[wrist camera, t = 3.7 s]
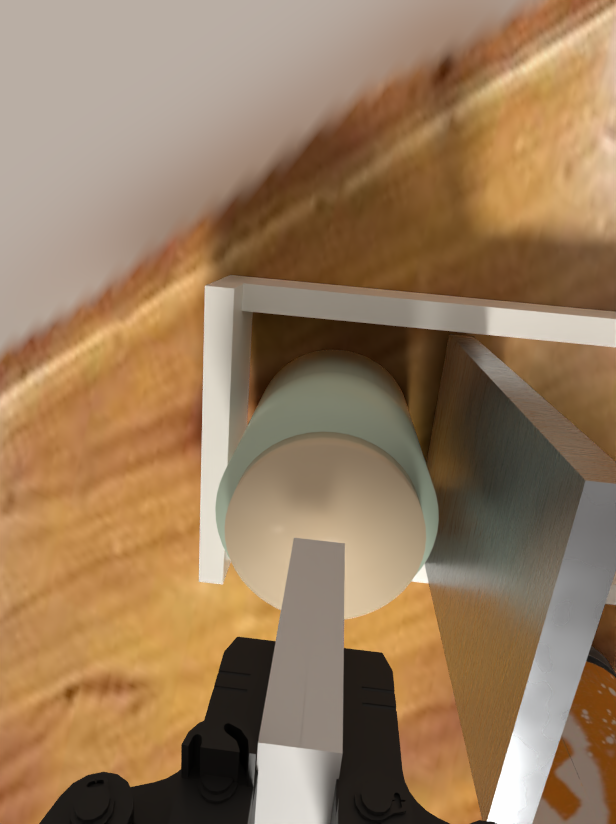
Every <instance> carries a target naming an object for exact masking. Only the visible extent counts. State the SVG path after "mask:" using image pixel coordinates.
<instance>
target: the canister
mask: <svg viewBox="0 0 616 824" xmlns="http://www.w3.org/2000/svg"><path fill="white" fill-rule="evenodd" d="M532 824H616V673H615V671H614V670H613V668H612V667H611V665H610V664H609V662H608V661H607V659H606V658H605V657H604V656H603V655H602V654H601V653H600V652H599V651H597V650H596V649H594V648H593V647H592V646H591V648H590V651H589V654H588V657H587V660H586V663H585V666H584V669H583V672H582V675H581V678H580V681H579V684H578V687H577V690H576V693H575V696H574V699H573V702H572V705H571V708H570V711H569V714H568V717H567V720H566V723H565V726H564V729H563V732H562V735H561V738H560V741H559V744H558V747H557V750H556V753H555V756H554V759H553V762H552V765H551V768H550V771H549V774H548V777H547V780H546V783H545V787H544V790H543V793H542V796H541V799H540V802H539V805H538V808H537V811H536V814H535V817H534V820H533V823H532Z"/></svg>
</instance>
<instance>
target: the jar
mask: <svg viewBox="0 0 616 824" xmlns="http://www.w3.org/2000/svg"><path fill="white" fill-rule="evenodd" d="M215 511H216V524H217V529H218V534H219V536H220V539H221V542H222V545H223V547H224V549H225V551H226V553H227V555H228V557H229V558H230V560H231V562H232V564H233V566H234V568H235V570H236V572H237V573H238V575H239V576H240V578H241V579H242V580H243V582H244V583H245V584H246V585H247V586H248V587H249V588H250V589H251V590H252V591H253V592H254V593H255V594H256V595H257V596H258V597H260V598H261V599H263V600H264V601H265V602H267V603H268V604H270V605H272V606H274V607H276V608H277V609H279V610H281V608H282V603H283V597H284V591H285V585H286V580H287V574H288V568H289V562H290V557H291V551H292V545H293V540H294V538H302V539H311V540H320V541H329V542H338V543H345V581H344V619H350V618H355V617H359V616H362V615H365V614H368V613H370V612H373V611H375V610H377V609H379V608H381V607H383V606H385V605H386V604H388V603H389V602H391V601H392V600H393V599H395V598H396V597H397V596H398V595H399V594H400V593H401V592H403V591H404V590H405V588H406V587H407V586H408V585H409V584H410V582H411V581H412V579H413V578H414V577H415V575H416V574H417V573H418V572H419V571H420V569H421V568H422V567H423V565H424V564H425V562H426V560H427V559H428V557H429V555H430V553H431V550H432V548H433V546H434V543H435V539H436V535H437V530H438V522H439V514H438V503H437V497H436V493H435V490H434V486H433V483H432V480H431V477H430V474H429V471H428V468H427V465H426V462H425V459H424V456H423V453H422V450H421V447H420V444H419V441H418V438H417V435H416V432H415V429H414V425H413V422H412V419H411V416H410V413H409V410H408V407H407V404H406V401H405V398H404V395H403V393H402V391H401V389H400V387H399V385H398V384H397V382H396V381H395V380H394V378H393V377H392V376H391V375H390V374H389V373H388V372H387V371H386V370H385V369H384V368H383V367H382V366H380V365H379V364H378V363H376V362H375V361H373V360H371V359H370V358H367V357H365V356H363V355H361V354H357V353H354V352H351V351H345V350H331V349H330V350H320V351H316V352H311V353H308V354H305V355H303V356H300V357H298V358H296V359H295V360H293V361H291V362H290V363H288V364H287V365H285V366H284V367H283V368H282V369H281V370H280V371H279V372H278V373H277V374H276V375H275V376H274V377H273V379H272V380H271V381H270V383H269V385H268V386H267V388H266V390H265V392H264V394H263V396H262V398H261V400H260V402H259V404H258V406H257V408H256V410H255V412H254V414H253V416H252V418H251V420H250V422H249V424H248V426H247V428H246V430H245V432H244V434H243V436H242V438H241V440H240V442H239V444H238V446H237V448H236V450H235V452H234V454H233V456H232V458H231V460H230V461H229V463H228V465H227V467H226V469H225V472H224V474H223V476H222V479H221V481H220V484H219V488H218V492H217V497H216V506H215Z"/></svg>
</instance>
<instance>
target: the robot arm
mask: <svg viewBox="0 0 616 824" xmlns="http://www.w3.org/2000/svg"><path fill="white" fill-rule="evenodd" d="M344 581H345V543H338V542H329V541H320V540H311V539H302V538H294V540H293V545H292V551H291V557H290V562H289V568H288V574H287V580H286V585H285V591H284V597H283V603H282V608H281V614H280V620H279V625H278V631H277V637H276V641H268V640H260V639H252V638H244V637H237V638H236V639H235V640H234V641H233V642H232V644H231V645H230V646H229V647H228V648H227V649H226V650H225V652H224V655H223V658H222V661H221V665H220V668H219V673H218V675H217V679H216V682H215V686H214V689H213V692H212V696H211V699H210V703H209V706H208V710H207V713H206V716H205V720H204V721H203V722H200V723H199V724H197V725H196V726H195V727H194V728H193V729H192V730H190V731H189V732H188V734H187V736H186V738H185V739H184V741H183V743H182V762H181V770H180V771H178V772H177V773H175V774H174V775H172V776H170V777H168V778H167V779H164V780H160V781H157V782H154V783H149V784H144V785H139V786H134V787H130V786H129V784H128V782H127V781H126V780H124V779H123V778H122V777H120V776H119V775H118V774H113V773H107V772H101V773H96V774H91V775H87V776H86V777H84V778H82V779H80V780H78V781H76V782H75V783H73V784H72V785H71V786H70V787H69V788H68V789H67V790H66V791H65V792H64V793H63V794H62V795H61V796H60V797H59V798H58V800H57V801H56V802H55V804H54V805H53V806H52V808H51V809H50V810H49V812H48V813H47V814H46V816H45V817H44V818H43V819H42V821H41V822H40V823H39V824H449V823H447V822H445V821H443V820H441V819H439V818H437V817H436V816H434V815H432V814H431V813H429V812H427V811H426V810H425V809H424V808H423V807H422V806H421V805H420V804H419V803H417V801H416V800H415V799H414V797H413V796H412V795H411V793H410V792H409V790H408V787H407V785H406V783H405V780H404V776H403V771H402V762H401V752H400V742H399V731H398V721H397V711H396V701H395V694H394V681H393V671H392V669H391V667H390V666H389V664H388V662H387V660H386V659H385V657H384V655H383V653H379V652H371V651H363V650H354V649H346V648H344ZM471 824H497V823H495V822H492V821H481V820H478V821H476V822H473V823H471Z"/></svg>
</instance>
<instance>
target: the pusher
mask: <svg viewBox="0 0 616 824" xmlns="http://www.w3.org/2000/svg"><path fill="white" fill-rule="evenodd" d="M426 465H427V468H428V471H429V474H430V477H431V480H432V483H433V486H434V490H435V493H436V497H437V503H438V514H439V522H438V530H437V535H436V539H435V543H434V546H433V548H432V550H431V553H430V555H429V557H428V559H427V560H426V562H425V569H426V573H427V578H428V582H429V587H430V591H431V595H432V600H433V604H434V609H435V613H436V617H437V622H438V626H439V631H440V635H441V640H442V644H443V648H444V653H445V657H446V662H447V666H448V670H449V675H450V679H451V684H452V688H453V693H454V697H455V701H456V706H457V710H458V715H459V719H460V723H461V728H462V732H463V737H464V741H465V745H466V750H467V754H468V759H469V763H470V768H471V772H472V776H473V781H474V785H475V790H476V794H477V798H478V803H479V807H480V812H481V816H482V821H492V822H495V823H497V824H532V823H533V820H534V817H535V814H536V811H537V808H538V805H539V802H540V799H541V796H542V793H543V790H544V787H545V783H546V780H547V777H548V774H549V771H550V768H551V765H552V762H553V759H554V756H555V753H556V750H557V747H558V744H559V741H560V738H561V735H562V732H563V729H564V726H565V723H566V720H567V717H568V714H569V711H570V708H571V705H572V702H573V699H574V696H575V693H576V690H577V687H578V684H579V681H580V678H581V675H582V672H583V669H584V666H585V663H586V660H587V657H588V654H589V651H590V648H591V645H592V642H593V639H594V636H595V633H596V630H597V627H598V624H599V621H600V618H601V615H602V612H603V609H604V606H605V603H606V600H607V597H608V594H609V591H610V588H611V585H612V582H613V578H614V575H615V572H616V462H615V461H614V460H613V459H612V458H611V457H610V456H608V455H607V454H606V453H605V452H604V451H603V450H602V449H601V448H599V447H598V446H597V445H596V444H595V443H594V442H593V441H591V440H590V439H589V438H588V437H587V436H586V435H585V434H584V433H582V432H581V431H580V430H579V429H578V428H577V427H576V426H574V425H573V424H572V423H571V422H570V421H569V420H568V419H567V418H565V417H564V416H563V415H562V414H561V413H560V412H559V411H557V410H556V409H555V408H554V407H553V406H552V405H551V404H550V403H548V402H547V401H546V400H545V399H544V398H543V397H542V396H540V395H539V394H538V393H537V392H536V391H535V390H534V389H533V388H531V387H530V386H529V385H528V384H527V383H526V382H525V381H523V380H522V379H521V378H520V377H519V376H518V375H517V374H516V373H514V372H513V371H512V370H511V369H510V368H509V367H508V366H506V365H505V364H504V363H503V362H502V361H501V360H500V359H499V358H497V357H496V356H495V355H494V354H493V353H492V352H491V351H490V350H488V349H487V348H486V347H485V346H484V345H483V344H482V343H480V342H479V341H478V340H477V339H476V338H475V337H474V336H464V335H454V334H449V337H448V343H447V349H446V354H445V360H444V366H443V371H442V377H441V383H440V388H439V394H438V400H437V405H436V411H435V417H434V422H433V428H432V434H431V439H430V445H429V451H428V456H427V462H426Z"/></svg>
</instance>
